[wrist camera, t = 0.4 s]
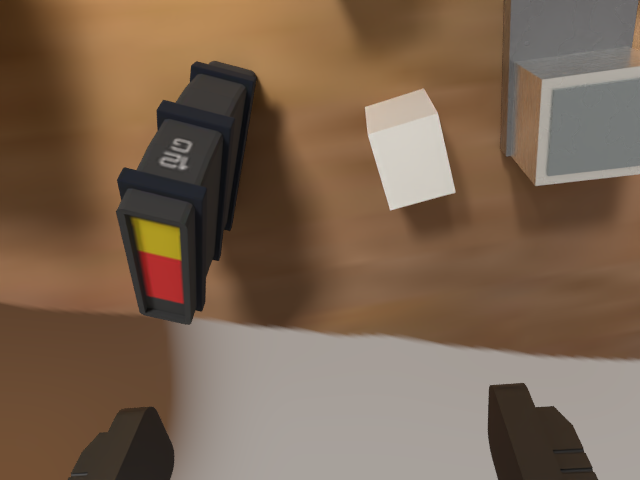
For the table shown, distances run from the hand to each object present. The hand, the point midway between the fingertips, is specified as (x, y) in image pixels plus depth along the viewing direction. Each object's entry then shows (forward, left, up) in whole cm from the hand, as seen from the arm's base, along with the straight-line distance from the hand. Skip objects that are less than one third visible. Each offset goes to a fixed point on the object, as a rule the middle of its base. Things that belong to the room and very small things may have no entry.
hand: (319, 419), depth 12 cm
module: (+1, +4, -25) cm, 26 cm away
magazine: (+1, -9, -26) cm, 27 cm away
